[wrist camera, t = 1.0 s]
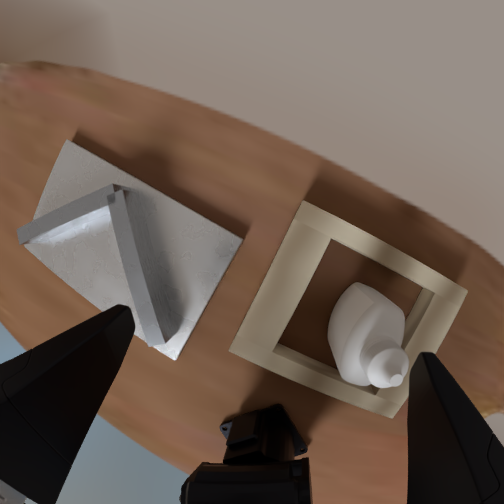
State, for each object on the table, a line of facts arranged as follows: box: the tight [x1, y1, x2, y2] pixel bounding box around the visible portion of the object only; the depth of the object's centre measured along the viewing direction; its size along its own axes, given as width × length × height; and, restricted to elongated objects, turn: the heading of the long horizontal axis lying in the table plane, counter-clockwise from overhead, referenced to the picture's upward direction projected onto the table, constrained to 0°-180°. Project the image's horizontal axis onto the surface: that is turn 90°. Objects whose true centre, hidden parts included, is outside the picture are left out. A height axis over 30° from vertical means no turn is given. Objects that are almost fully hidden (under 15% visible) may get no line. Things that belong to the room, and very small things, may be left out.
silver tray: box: [17, 139, 244, 361], centre depth 25 cm, size 12×20×4 cm, turn 61°
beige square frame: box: [228, 200, 468, 418], centre depth 24 cm, size 16×13×2 cm
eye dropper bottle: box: [327, 282, 409, 388], centre depth 19 cm, size 4×6×12 cm
